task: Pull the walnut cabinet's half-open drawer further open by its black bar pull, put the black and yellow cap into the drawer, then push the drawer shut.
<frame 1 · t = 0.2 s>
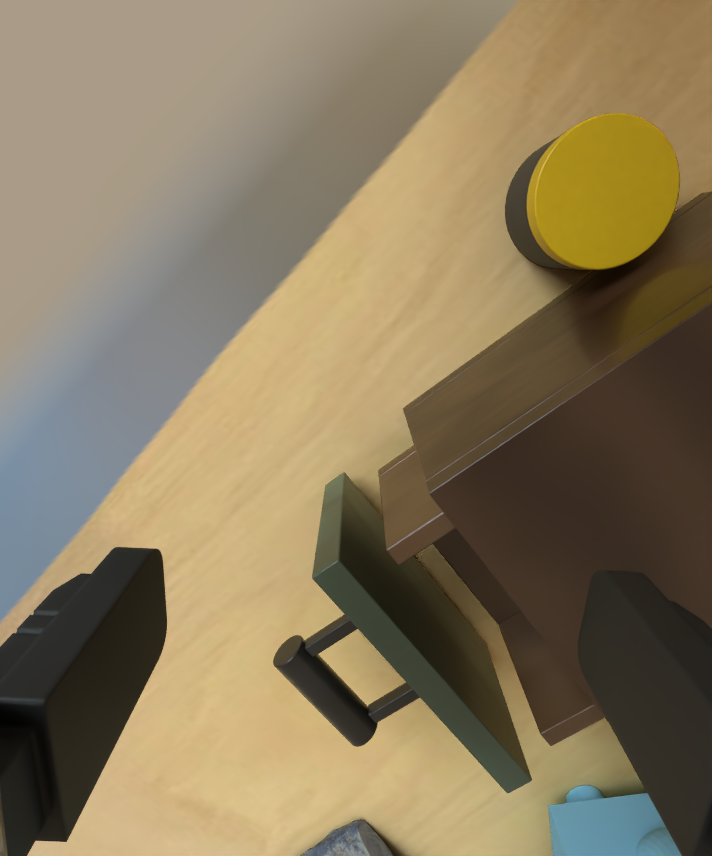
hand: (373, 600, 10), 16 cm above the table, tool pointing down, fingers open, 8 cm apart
teapot: (632, 814, 34), on the table
drawer: (495, 569, 23), point 5 cm above the table, slide at 4.0 cm
cabinet: (616, 422, 26), on the table
cap: (565, 205, 23), on the table
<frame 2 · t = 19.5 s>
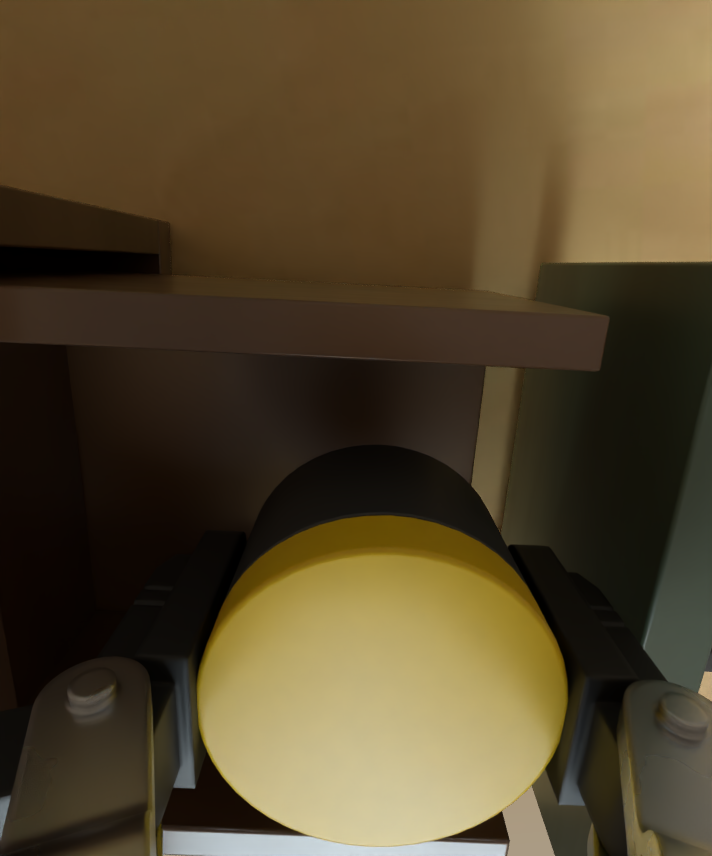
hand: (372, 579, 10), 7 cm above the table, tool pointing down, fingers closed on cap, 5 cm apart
drawer: (409, 532, 12), point 5 cm above the table, slide at 10.4 cm, touching gripper
cap: (373, 560, 11), point 6 cm above the table, touching gripper
when the fingers open (7 cm above the table, at t = 19.7 s): cap drops 4 cm, resting on drawer.
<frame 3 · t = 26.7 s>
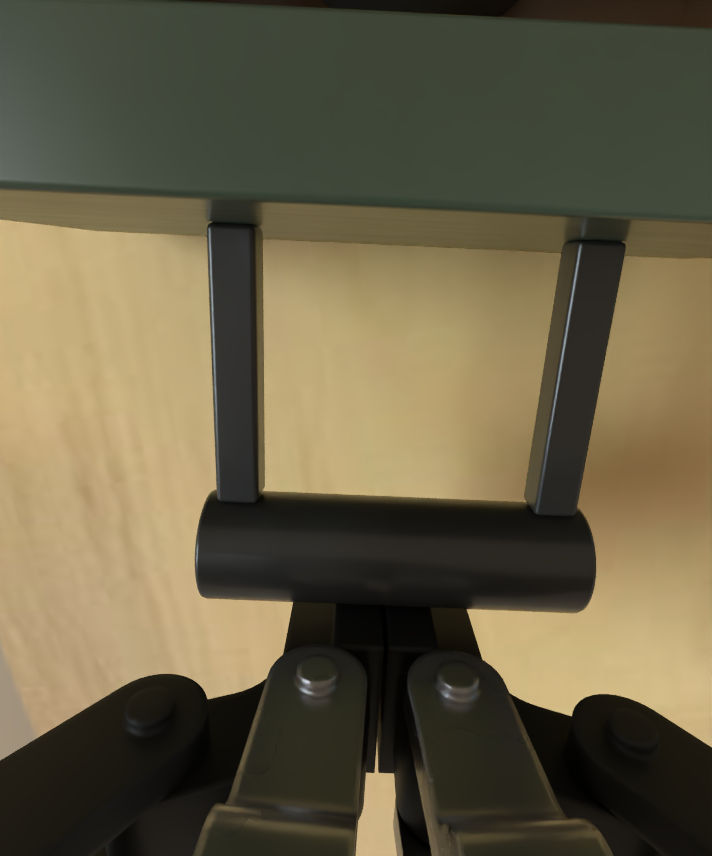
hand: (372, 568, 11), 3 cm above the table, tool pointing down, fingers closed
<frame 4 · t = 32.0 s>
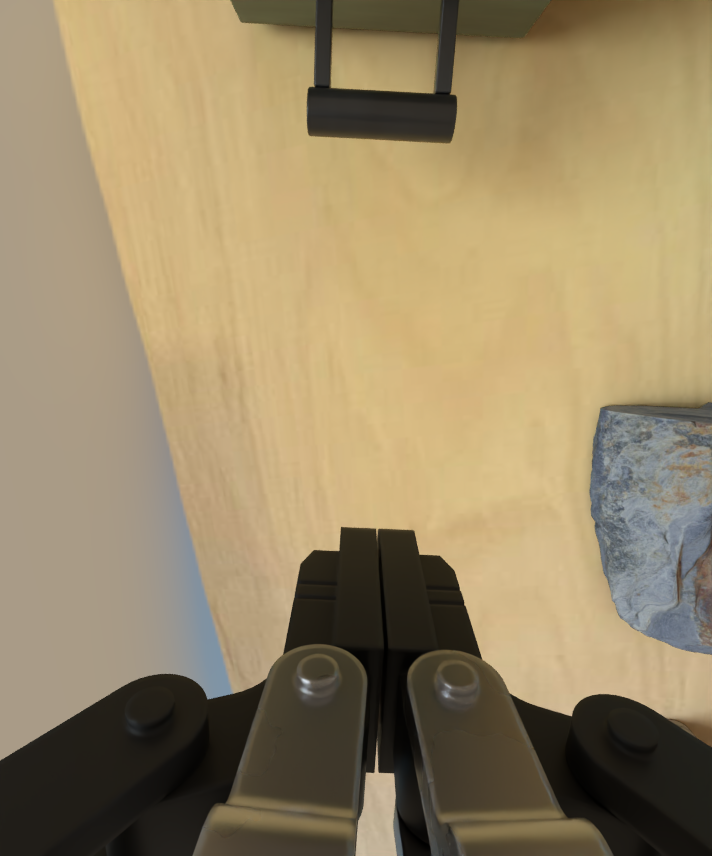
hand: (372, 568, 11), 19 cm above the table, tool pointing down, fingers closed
stone: (670, 522, 32), on the table
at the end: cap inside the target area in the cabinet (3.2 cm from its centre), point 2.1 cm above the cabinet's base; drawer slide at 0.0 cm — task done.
